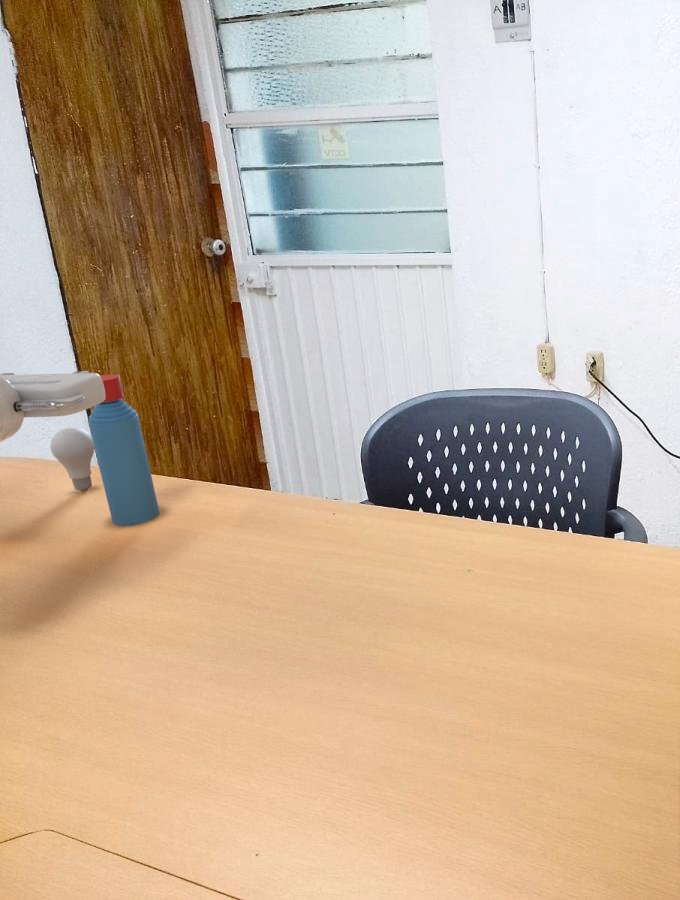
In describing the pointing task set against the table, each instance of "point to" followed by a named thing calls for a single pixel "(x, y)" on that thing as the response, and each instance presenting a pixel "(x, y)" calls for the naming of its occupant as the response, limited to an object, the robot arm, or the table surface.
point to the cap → (112, 387)
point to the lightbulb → (75, 455)
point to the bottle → (123, 463)
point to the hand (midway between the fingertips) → (47, 378)
